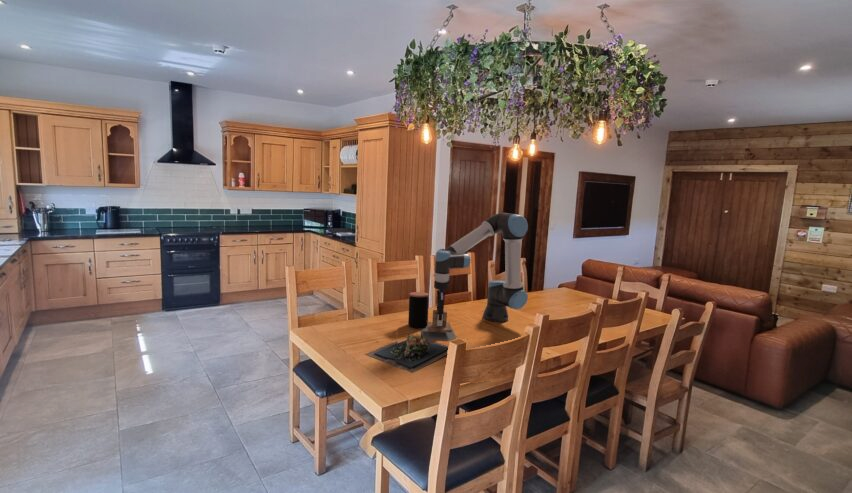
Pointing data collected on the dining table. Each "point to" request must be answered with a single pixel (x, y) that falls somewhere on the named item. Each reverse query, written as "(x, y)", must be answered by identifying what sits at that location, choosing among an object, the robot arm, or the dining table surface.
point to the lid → (434, 328)
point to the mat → (438, 335)
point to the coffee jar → (418, 309)
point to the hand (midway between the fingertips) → (439, 324)
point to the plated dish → (410, 353)
